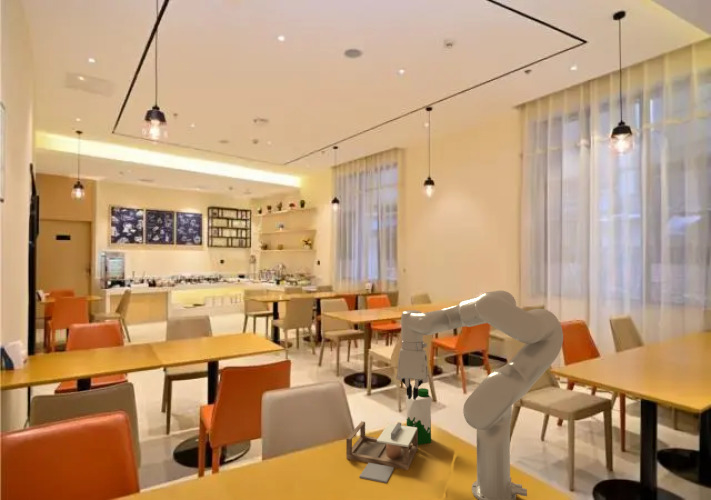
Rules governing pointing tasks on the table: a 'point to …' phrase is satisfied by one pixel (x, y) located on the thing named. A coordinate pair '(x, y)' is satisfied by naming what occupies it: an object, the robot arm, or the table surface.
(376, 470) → the trivet
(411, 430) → the lid
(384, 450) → the wooden frame crate
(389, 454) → the peach rounded knob
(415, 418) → the milk carton
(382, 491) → the table surface
